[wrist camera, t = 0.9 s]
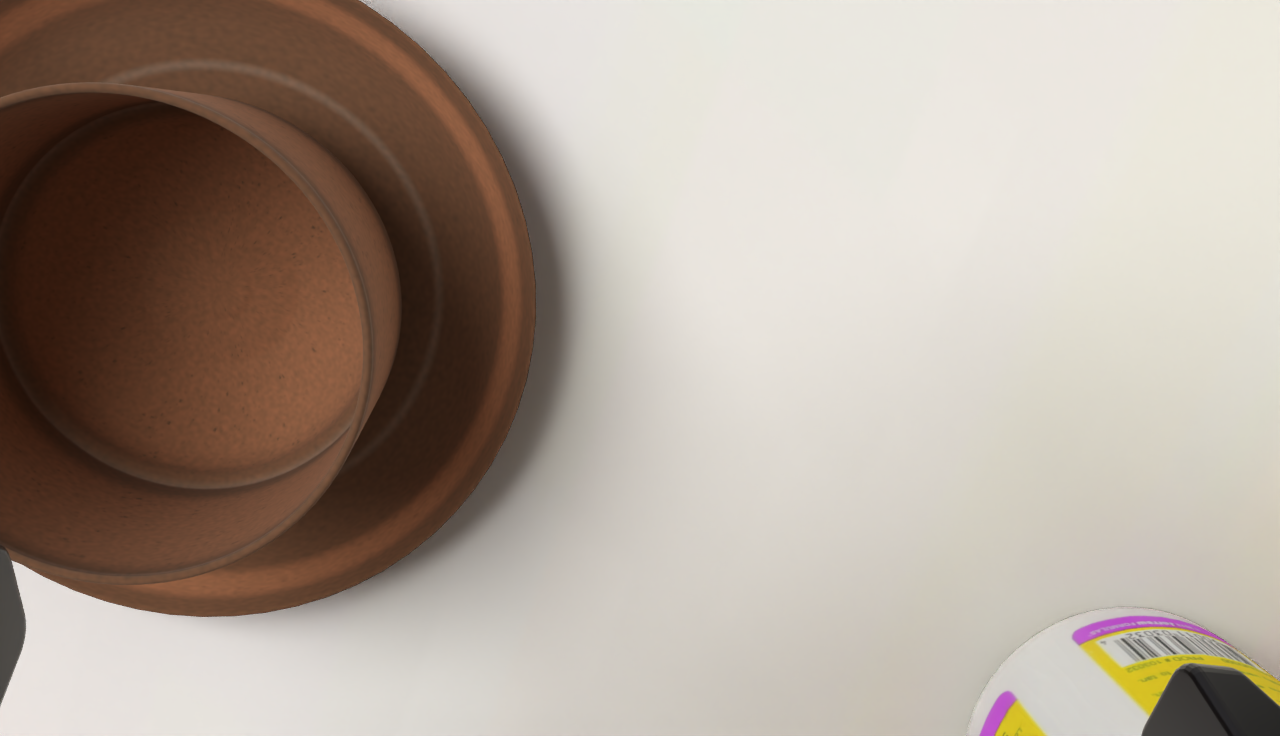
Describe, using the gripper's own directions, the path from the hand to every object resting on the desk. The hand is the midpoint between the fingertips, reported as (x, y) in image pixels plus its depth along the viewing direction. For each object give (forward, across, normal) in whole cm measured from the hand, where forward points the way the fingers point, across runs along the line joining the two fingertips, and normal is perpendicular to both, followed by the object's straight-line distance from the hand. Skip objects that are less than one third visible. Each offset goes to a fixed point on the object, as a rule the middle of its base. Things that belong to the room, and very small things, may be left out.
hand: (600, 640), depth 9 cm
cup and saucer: (+14, +8, +6) cm, 16 cm away
